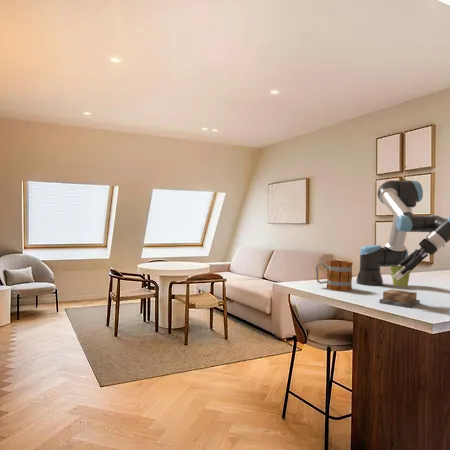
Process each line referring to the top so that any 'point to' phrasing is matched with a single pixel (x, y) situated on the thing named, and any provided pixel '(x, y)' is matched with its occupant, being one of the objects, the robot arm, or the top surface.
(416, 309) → the top surface
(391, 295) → the plinth
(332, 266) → the mug
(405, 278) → the plant pot
